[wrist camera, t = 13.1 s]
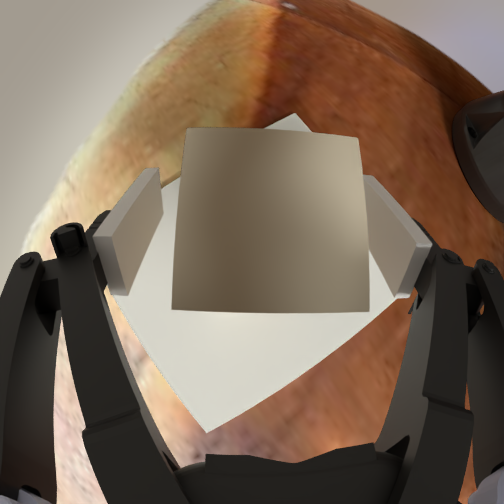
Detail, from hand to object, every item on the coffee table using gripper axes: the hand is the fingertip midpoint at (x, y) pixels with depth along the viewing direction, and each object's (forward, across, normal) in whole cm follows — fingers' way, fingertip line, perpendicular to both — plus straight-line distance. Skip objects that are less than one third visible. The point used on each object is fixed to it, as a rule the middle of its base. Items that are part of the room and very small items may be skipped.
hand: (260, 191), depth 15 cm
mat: (+3, 0, -7) cm, 7 cm away
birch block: (+2, 0, -6) cm, 7 cm away
